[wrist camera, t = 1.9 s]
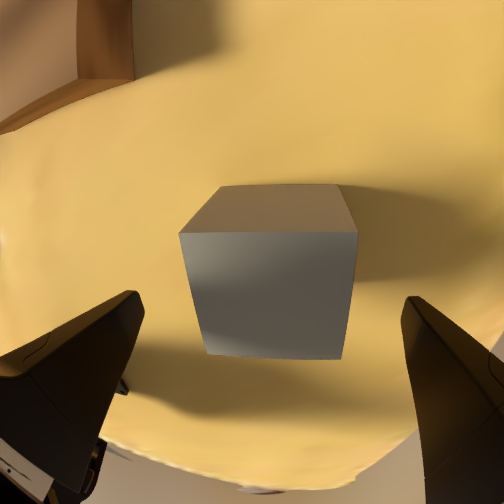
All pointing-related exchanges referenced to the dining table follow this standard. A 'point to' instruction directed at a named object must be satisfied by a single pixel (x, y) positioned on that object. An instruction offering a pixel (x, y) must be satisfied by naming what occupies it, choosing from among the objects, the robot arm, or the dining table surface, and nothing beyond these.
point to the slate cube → (272, 270)
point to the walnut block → (60, 54)
